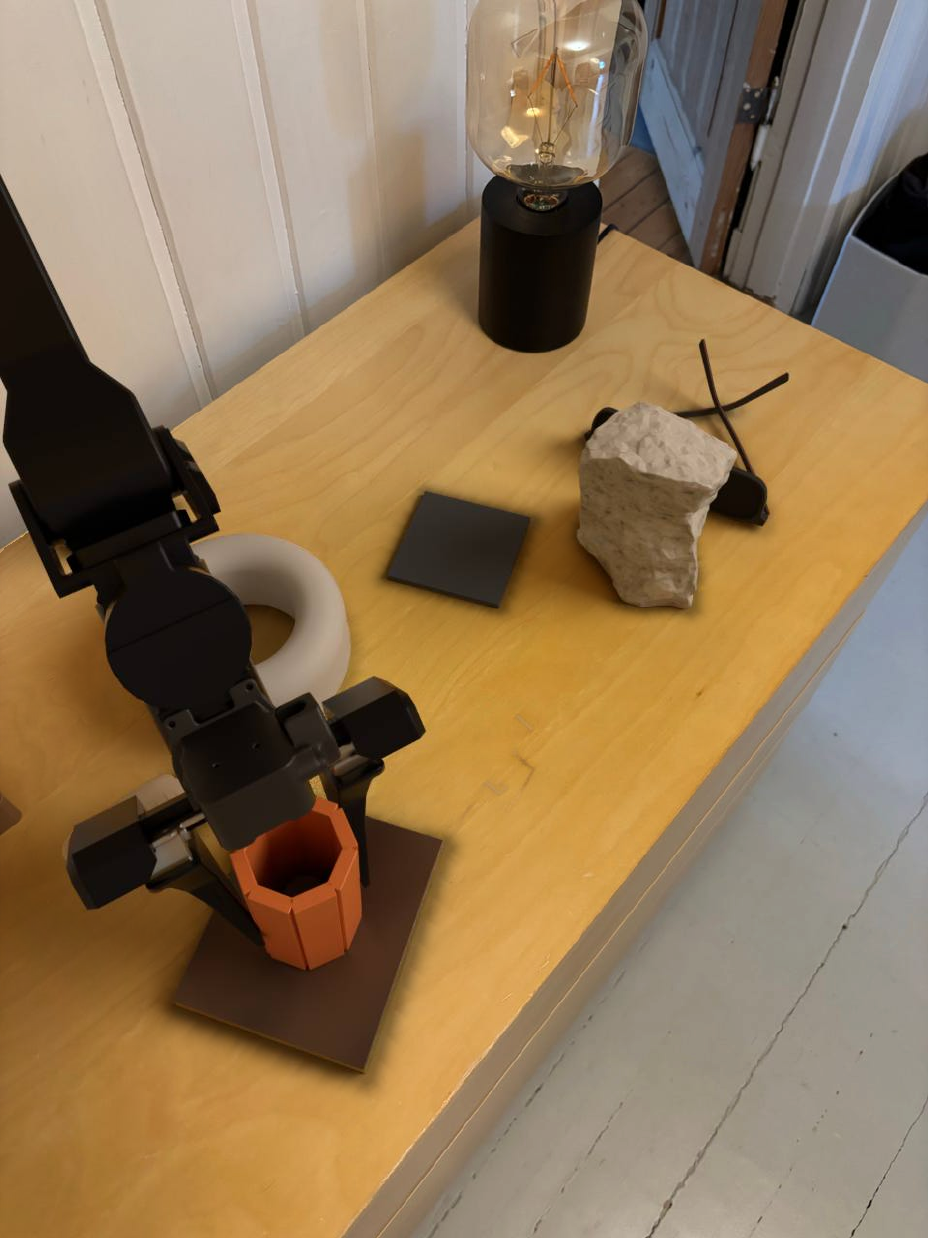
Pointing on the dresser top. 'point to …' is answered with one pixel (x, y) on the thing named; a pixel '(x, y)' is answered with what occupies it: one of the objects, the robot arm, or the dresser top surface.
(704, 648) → the dresser top surface
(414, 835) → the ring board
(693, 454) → the decorative stone
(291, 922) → the octagonal orange vase
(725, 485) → the sunglasses
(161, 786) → the decorative ornament
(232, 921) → the robot arm
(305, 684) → the fat ring
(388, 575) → the felt mat
